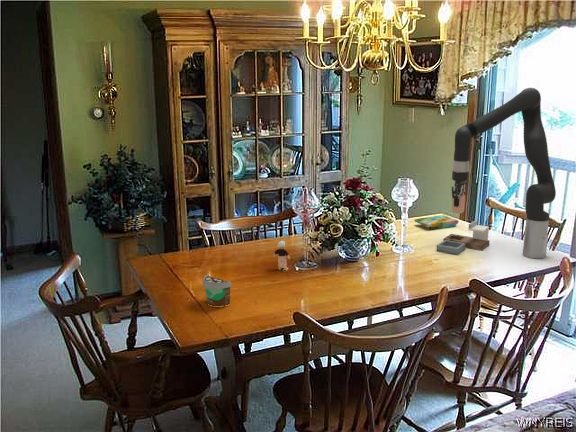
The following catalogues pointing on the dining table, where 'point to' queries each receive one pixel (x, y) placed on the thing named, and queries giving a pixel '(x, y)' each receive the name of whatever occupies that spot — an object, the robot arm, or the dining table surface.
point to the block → (461, 205)
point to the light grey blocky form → (479, 231)
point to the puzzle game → (437, 222)
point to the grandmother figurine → (282, 256)
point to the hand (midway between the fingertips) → (458, 205)
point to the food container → (217, 291)
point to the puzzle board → (468, 241)
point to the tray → (451, 247)
